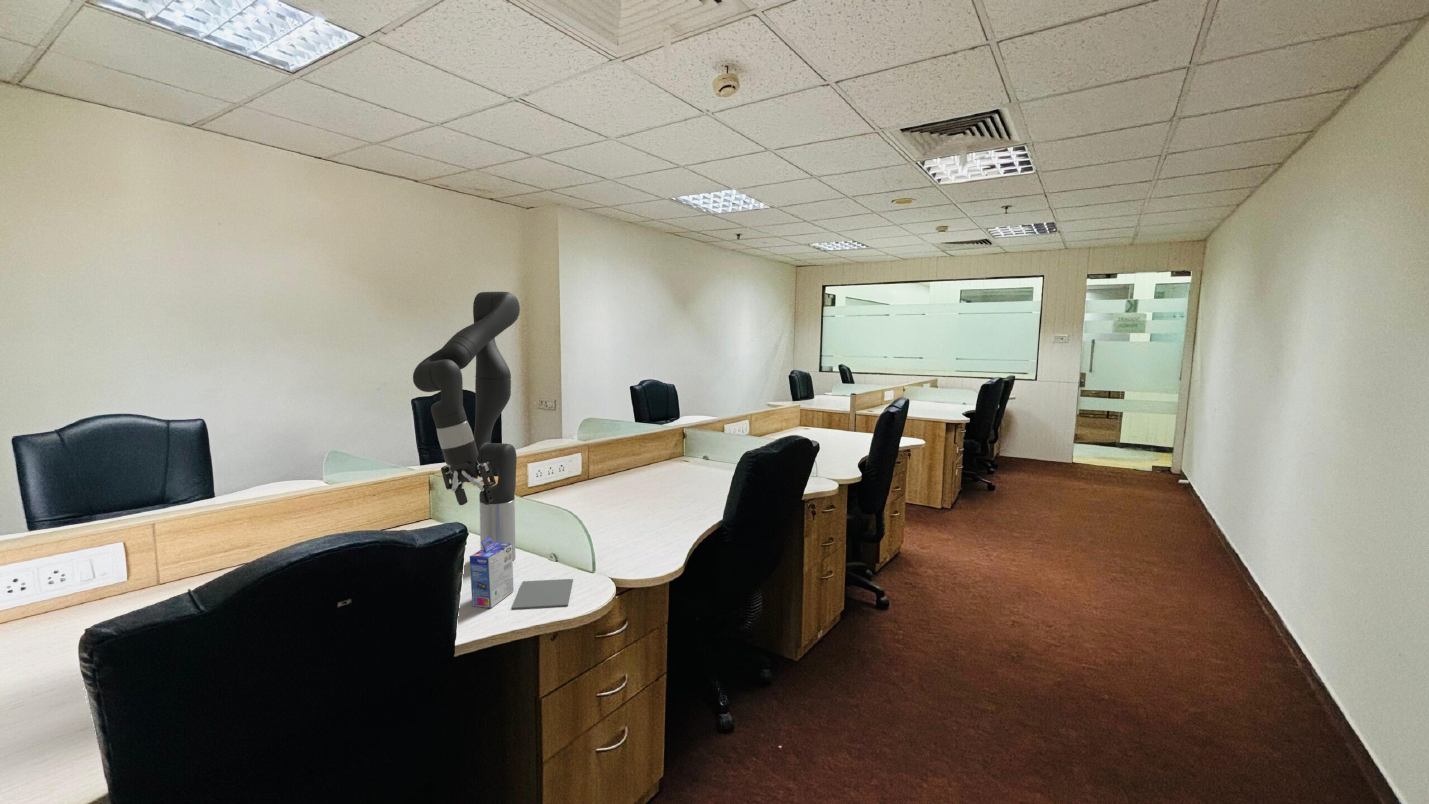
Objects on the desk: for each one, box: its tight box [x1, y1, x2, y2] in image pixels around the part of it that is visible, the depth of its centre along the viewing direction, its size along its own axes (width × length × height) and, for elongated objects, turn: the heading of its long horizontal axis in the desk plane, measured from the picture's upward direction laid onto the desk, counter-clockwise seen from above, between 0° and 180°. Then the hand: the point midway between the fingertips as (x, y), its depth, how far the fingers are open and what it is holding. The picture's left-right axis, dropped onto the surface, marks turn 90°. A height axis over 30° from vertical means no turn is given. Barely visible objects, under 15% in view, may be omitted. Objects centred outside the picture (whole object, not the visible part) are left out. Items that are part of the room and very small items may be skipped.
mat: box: [511, 578, 574, 610], centre depth 137 cm, size 15×12×1 cm
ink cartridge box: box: [469, 537, 514, 609], centre depth 133 cm, size 10×6×14 cm, turn 168°
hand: (476, 503), depth 138 cm, fingers open, 8 cm apart
